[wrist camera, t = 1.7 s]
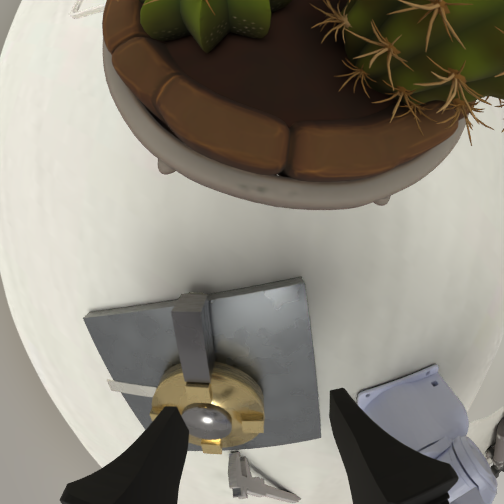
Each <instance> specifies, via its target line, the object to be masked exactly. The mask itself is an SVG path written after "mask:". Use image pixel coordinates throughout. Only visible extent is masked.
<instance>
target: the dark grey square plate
mask: <svg viewBox="0 0 504 504" xmlns="http://www.w3.org/2000/svg"><path fill="white" fill-rule="evenodd" d="M189 294H203V292H189ZM177 301H178V299H177V300H171V301H164V302H158V303H151V304H145V305H138V306H131V307H124V308H117V309H109V310H101V311H94V312H89V313H88V314H87V315H86V316H85V317H84V318H83V319H84V321H85V324H86V326H87V328H88V331H89V333H90V335H91V337H92V339H93V341H94V343H95V345H96V348H97V350H98V352H99V354H100V356H101V357H102V359H103V361H104V363H105V365H106V367H107V369H108V371H109V373H110V374H111V376H112V378H113V380H109V379H107V381H108V384H109V386H110V389H111V390H112V391H117V392H121V393H122V395H123V397H124V398H125V400H126V401H127V403H128V405H129V406H130V408H131V409H132V411H133V412H134V414H135V415H136V417H137V418H138V420H139V421H140V423H141V424H142V425H143V427H144V428H145V430H146V429H147V428H148V426H149V425H150V424H151V423H152V422H153V421H152V419H151V417H150V411H151V409H152V399H153V396H154V393H155V391H156V389H157V386H158V384H159V382H160V379H161V378H162V376H163V374H164V373H165V372H166V371H167V370H168V369H170V368H171V367H173V366H175V365H177V364H180V363H181V362H180V358H179V353H178V348H177V343H176V337H175V332H174V326H173V320H172V314H171V311H172V309H173V307H174V306H175V304H176V302H177ZM208 301H209V311H210V320H211V330H212V338H213V347H214V355H215V362H220V363H224V364H227V365H230V366H233V367H235V368H237V369H239V370H241V371H243V372H244V373H246V374H247V375H249V376H250V377H251V378H252V379H253V380H254V381H255V382H256V383H257V384H258V385H259V387H260V389H261V391H262V393H263V397H264V416H265V421H264V433H259V434H258V435H257V436H256V437H255V438H253V439H252V440H250V441H248V442H246V443H244V444H241V445H238V446H233V447H227V448H222V450H239V449H252V448H262V447H270V446H278V445H284V444H291V443H297V442H302V441H307V440H312V439H317V438H321V428H320V414H319V402H318V391H317V380H316V370H315V360H314V351H313V343H312V334H311V326H310V318H309V311H308V303H307V296H306V289H305V283H304V281H303V279H302V277H298V278H293V279H288V280H283V281H278V282H273V283H268V284H263V285H257V286H252V287H247V288H241V289H236V290H230V291H225V292H219V293H213V294H208ZM187 451H203V450H202V446H199V445H195V444H192V443H189V442H188V450H187Z"/></svg>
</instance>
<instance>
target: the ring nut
mask: <svg viewBox="0 0 504 504" xmlns="http://www.w3.org/2000/svg"><path fill="white" fill-rule="evenodd" d="M171 314H172V320H173V326H174V332H175V337H176V343H177V348H178V353H179V358H180V362H181V363H180V364H177V365H175V366H173V367H171V368H170V369H168V370H167V371H166V372H165V373H164V374H163V376H162V378H161V379H160V382H159V384H158V386H157V389H156V391H155V393H154V396H153V399H152V409H151V411H150V417H151V419H152V421H153V420H154V419H155V418H156V417H157V416H158V414H159V413H160V412H161V411H162V410H163V408H164V407H165V406H176V407H177V408H178V410H179V412H180V414H181V416H182V418H183V420H184V422H185V424H186V426H187V428H188V429H189V443H192V444H195V445H199V446H202V450H203V453H208V454H222V448H227V447H233V446H238V445H241V444H244V443H246V442H248V441H250V440H252V439H253V438H255V437H256V436H257V435H258V434H259V433H264V421H265V416H264V397H263V393H262V391H261V389H260V387H259V385H258V384H257V383H256V382H255V381H254V380H253V379H252V378H251V377H250V376H249V375H247V374H246V373H244V372H243V371H241V370H239V369H237V368H235V367H233V366H230V365H227V364H224V363H220V362H215V355H214V347H213V338H212V330H211V320H210V311H209V301H208V294H181V296H180V297H179V299H178V301H177V302H176V304H175V306H174V307H173V309H172V311H171Z"/></svg>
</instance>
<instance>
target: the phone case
mask: <svg viewBox="0 0 504 504" xmlns="http://www.w3.org/2000/svg"><path fill="white" fill-rule="evenodd" d="M79 1H80V0H76V2H75V4H74V6H73V8H72V10H71V12H70V14H69V15H70V16H71V17H72V18H74V19H78V18H82V17H85V16H88V15H92V14H95V13H99V12H102V11H104V8H105V5H106V3H105V4H102V5H98V6H95V7H91V8H88V9H85V10H82V11H79V12H78V10H77V9H76V6H77V4H78V3H79Z"/></svg>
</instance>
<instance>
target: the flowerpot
mask: <svg viewBox="0 0 504 504" xmlns="http://www.w3.org/2000/svg"><path fill="white" fill-rule="evenodd" d="M102 26H103V64H104V71H105V76H106V81H107V84H108V87H109V90H110V93H111V96H112V98H113V100H114V102H115V104H116V106H117V108H118V110H119V112H120V114H121V115H122V117H123V119H124V121H125V122H126V124H127V125H128V126H129V128H130V129H131V131H132V132H133V134H134V135H135V136H136V138H137V139H138V140H139V141H140V142H141V143H142V144H143V145H144V147H145V148H146V149H148V150H149V151H150V152H151V153H152V154H153V155H154V156H155V157H157V158H158V169H159V171H160V172H161V173H162V174H170V173H173V172H175V171H177V172H179V173H180V174H182V175H184V176H185V177H187V178H189V179H190V180H193V181H194V182H197V183H199V184H201V185H204V186H206V187H209V188H211V189H214V190H216V191H219V192H222V193H225V194H228V195H231V196H234V197H237V198H241V199H245V200H248V201H252V202H256V203H261V204H266V205H270V206H275V207H284V208H292V209H306V210H337V209H349V208H356V207H360V206H364V205H366V204H369V203H372V202H374V203H375V204H377V205H381V206H383V205H385V204H387V203H388V201H389V199H390V196H391V195H393V194H395V193H397V192H399V191H401V190H403V189H405V188H407V187H409V186H411V185H413V184H415V183H416V182H418V181H419V180H421V179H422V178H424V177H425V176H426V175H428V174H429V173H430V172H431V171H433V170H434V169H435V168H436V167H437V166H438V165H439V164H440V163H441V162H442V161H443V160H444V159H445V158H446V157H447V156H448V154H449V153H450V152H451V151H452V149H453V148H454V146H455V145H456V144H457V142H458V140H459V138H460V136H461V134H462V132H463V130H464V127H465V125H467V130H468V135H469V139H470V143H471V136H470V131H469V127H470V128H471V129H472V127H471V125H472V124H471V123H470V121H469V120H468V115H469V113H470V114H471V115H472V116H473V118H474V119H475V120H476V121H477V123H478V124H479V122H480V123H481V124H483V125H484V126H485V127H488V128H490V129H492V128H491V127H489V126H487V125H485V124H484V123H483V122H481V121H480V120H479V119H477V118H476V117H475V115H474V114H473V112H472V110H473V111H476V112H482V111H478V110H483V109H477V108H473V107H474V105H477V104H478V103H479V102H480V101H481V102H484V103H486V104H489V105H491V104H490V103H488V102H486V100H487V99H488V98H489V96H492V97H496V98H499V101H500V105H501V100H500V99H503V100H504V0H107V2H106V5H105V8H104V13H103V22H102ZM485 96H487V98H486V100H483V99H481V98H482V97H485ZM477 99H478V100H479V102H477V103H475V102H476V100H477ZM502 103H504V102H502ZM502 106H504V105H501V106H494V107H501V108H502ZM468 124H469V127H468ZM470 124H471V125H470ZM168 126H169V127H168ZM472 126H473V125H472ZM472 130H473V129H472ZM493 130H494V129H493ZM503 131H504V129H503V130H502V132H503ZM502 132H501V133H502ZM471 146H472V143H471ZM277 174H278V175H279V176H277Z"/></svg>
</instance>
